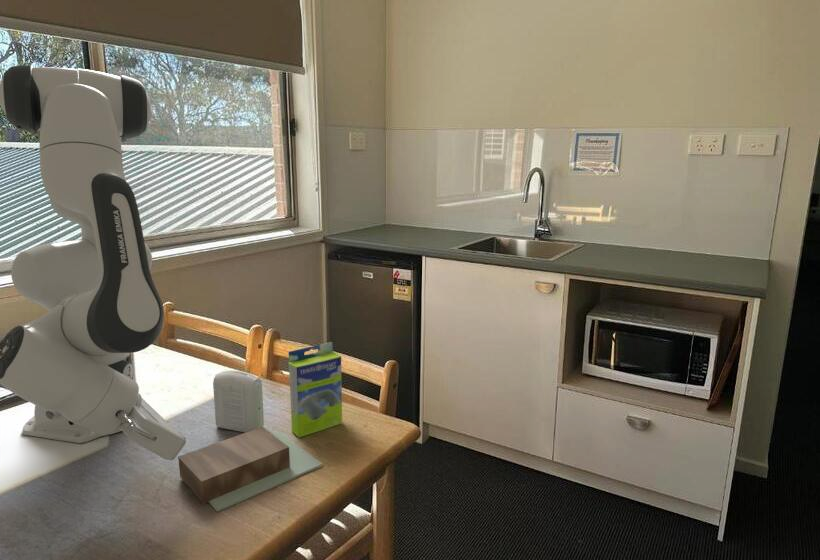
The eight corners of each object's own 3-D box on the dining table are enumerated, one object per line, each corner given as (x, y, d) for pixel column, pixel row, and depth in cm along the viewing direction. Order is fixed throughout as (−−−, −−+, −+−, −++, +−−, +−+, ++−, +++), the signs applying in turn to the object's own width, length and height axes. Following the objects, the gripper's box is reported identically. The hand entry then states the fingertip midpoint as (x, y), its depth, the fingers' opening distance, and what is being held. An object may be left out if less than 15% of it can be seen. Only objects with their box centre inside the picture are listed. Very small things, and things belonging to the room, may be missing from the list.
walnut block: (201, 481, 91) (289, 447, 101) (178, 456, 98) (262, 426, 108) (203, 503, 92) (290, 467, 102) (180, 477, 99) (263, 445, 109)
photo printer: (267, 426, 118) (264, 371, 115) (256, 436, 114) (252, 379, 111) (225, 419, 121) (221, 365, 118) (212, 428, 117) (208, 372, 114)
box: (299, 439, 113) (295, 357, 109) (289, 430, 116) (286, 351, 112) (344, 423, 119) (342, 346, 115) (334, 416, 122) (332, 340, 118)
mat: (217, 511, 90) (217, 509, 90) (179, 469, 102) (179, 467, 102) (322, 465, 103) (322, 463, 103) (278, 433, 115) (278, 431, 115)
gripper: (146, 407, 77) (219, 447, 86) (102, 365, 92) (169, 403, 100) (114, 448, 75) (193, 484, 84) (75, 398, 90) (145, 434, 99)
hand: (179, 439), depth 92 cm, fingers closed
